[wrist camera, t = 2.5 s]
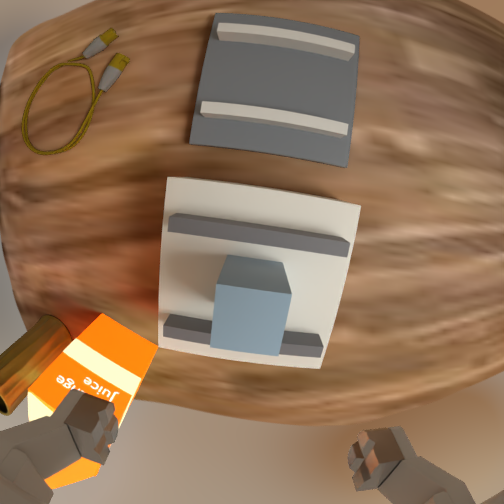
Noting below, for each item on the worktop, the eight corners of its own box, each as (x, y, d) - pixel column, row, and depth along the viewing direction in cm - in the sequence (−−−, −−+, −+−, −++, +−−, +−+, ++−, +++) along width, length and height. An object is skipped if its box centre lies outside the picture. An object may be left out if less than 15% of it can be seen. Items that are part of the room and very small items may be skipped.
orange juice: (159, 346, 30) (84, 495, 10) (138, 392, 32) (78, 517, 12) (100, 311, 29) (-10, 427, 10) (86, 361, 31) (5, 468, 12)
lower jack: (356, 39, 21) (366, 27, 19) (344, 167, 25) (354, 166, 22) (216, 17, 21) (212, 2, 18) (191, 144, 25) (183, 140, 22)
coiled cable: (142, 120, 25) (134, 116, 23) (31, 171, 26) (21, 171, 24) (129, 26, 22) (122, 19, 20) (25, 85, 23) (16, 82, 21)
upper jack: (338, 199, 26) (371, 208, 18) (309, 334, 29) (324, 382, 21) (187, 176, 25) (158, 176, 18) (175, 316, 29) (151, 359, 21)
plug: (282, 262, 21) (291, 294, 15) (273, 312, 22) (278, 356, 16) (227, 254, 21) (216, 283, 15) (221, 304, 22) (209, 347, 16)
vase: (42, 346, 31) (-16, 403, 17) (37, 308, 29) (-33, 361, 16) (75, 360, 31) (19, 428, 17) (71, 322, 30) (1, 387, 16)
